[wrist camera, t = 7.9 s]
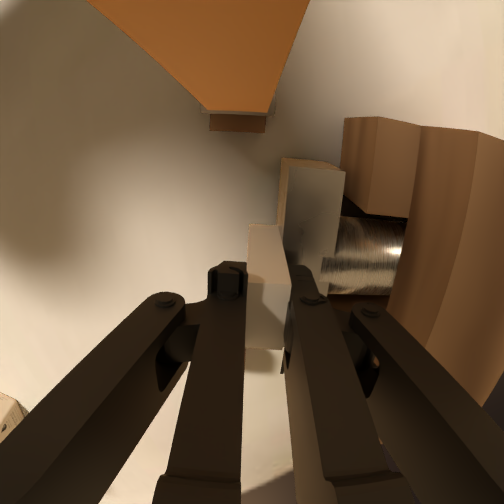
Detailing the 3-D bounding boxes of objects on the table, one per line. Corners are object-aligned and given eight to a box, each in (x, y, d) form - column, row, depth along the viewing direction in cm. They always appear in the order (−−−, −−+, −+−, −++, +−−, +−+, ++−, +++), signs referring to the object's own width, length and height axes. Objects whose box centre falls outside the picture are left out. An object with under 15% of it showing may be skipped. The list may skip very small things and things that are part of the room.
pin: (267, 307, 20) (270, 347, 16) (281, 157, 16) (289, 166, 13) (489, 308, 20) (516, 335, 16) (521, 197, 17) (557, 214, 13)
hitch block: (212, 343, 21) (194, 454, 13) (219, 84, 15) (184, 42, 7) (412, 345, 21) (462, 434, 13) (464, 124, 15) (573, 141, 7)
